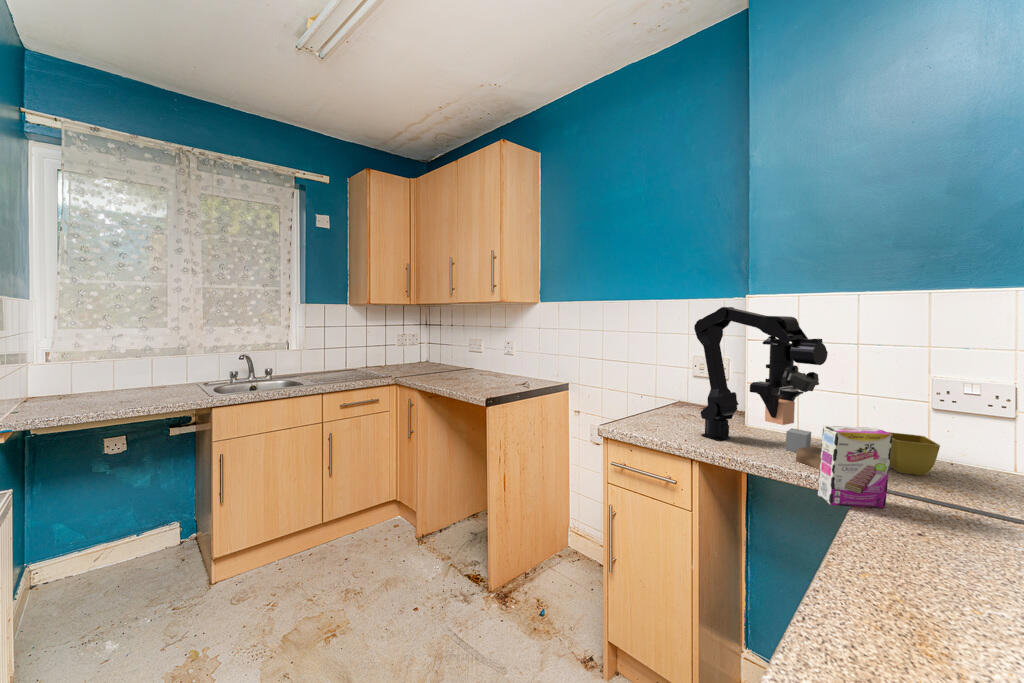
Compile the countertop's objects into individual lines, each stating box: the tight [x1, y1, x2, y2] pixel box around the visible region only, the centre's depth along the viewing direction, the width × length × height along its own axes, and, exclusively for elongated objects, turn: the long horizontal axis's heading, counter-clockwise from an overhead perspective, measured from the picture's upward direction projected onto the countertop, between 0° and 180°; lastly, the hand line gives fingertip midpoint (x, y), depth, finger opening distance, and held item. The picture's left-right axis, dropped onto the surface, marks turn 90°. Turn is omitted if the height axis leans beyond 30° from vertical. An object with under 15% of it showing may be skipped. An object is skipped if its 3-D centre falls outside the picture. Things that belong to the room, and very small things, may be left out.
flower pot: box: [887, 431, 941, 477], centre depth 109 cm, size 9×9×9 cm
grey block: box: [785, 428, 812, 454], centre depth 124 cm, size 5×5×6 cm
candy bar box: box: [817, 425, 892, 509], centre depth 91 cm, size 11×5×16 cm, turn 84°
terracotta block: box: [764, 399, 796, 426], centre depth 118 cm, size 5×5×6 cm
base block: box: [795, 445, 821, 471], centre depth 113 cm, size 7×7×4 cm
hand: (779, 416), depth 118 cm, fingers closed on terracotta block, 5 cm apart
